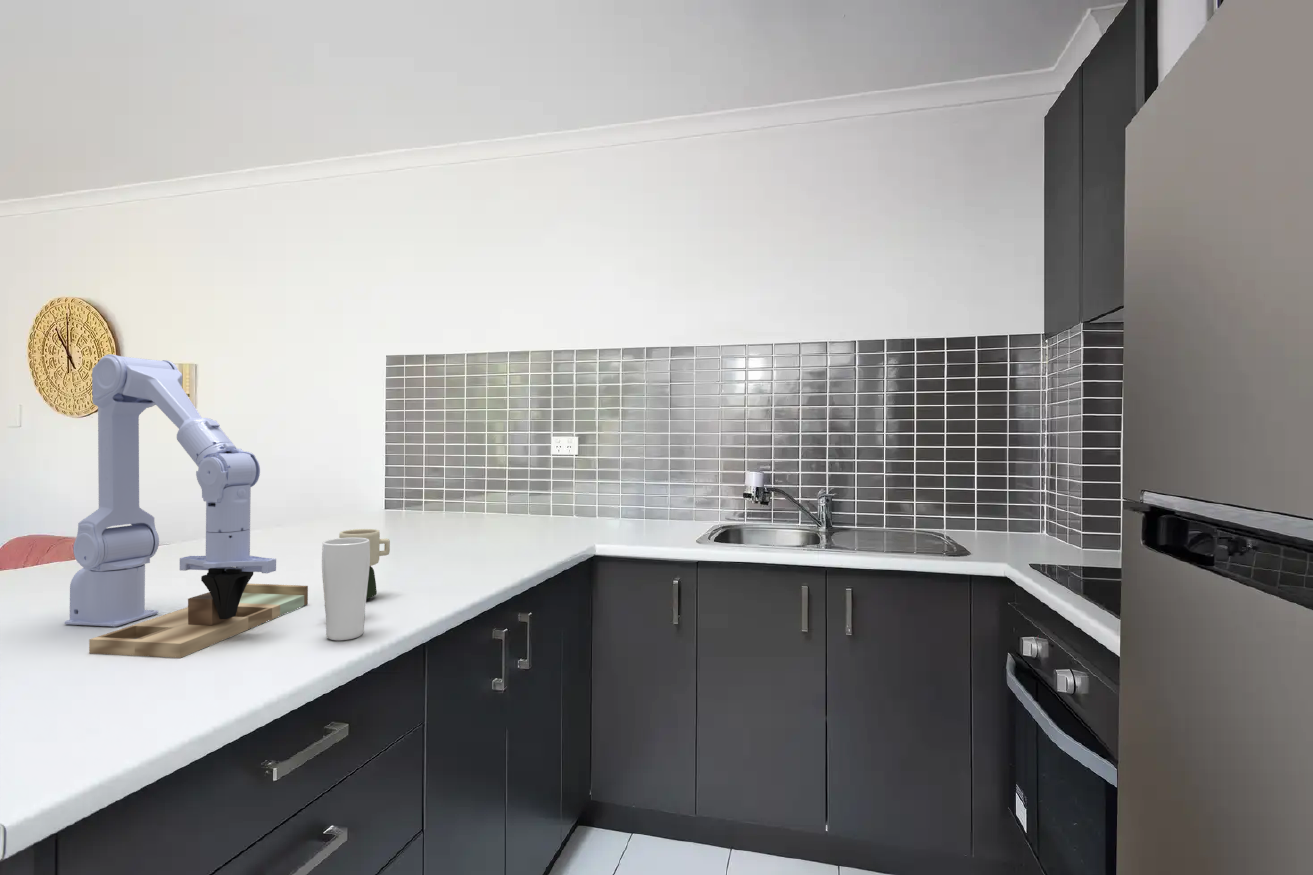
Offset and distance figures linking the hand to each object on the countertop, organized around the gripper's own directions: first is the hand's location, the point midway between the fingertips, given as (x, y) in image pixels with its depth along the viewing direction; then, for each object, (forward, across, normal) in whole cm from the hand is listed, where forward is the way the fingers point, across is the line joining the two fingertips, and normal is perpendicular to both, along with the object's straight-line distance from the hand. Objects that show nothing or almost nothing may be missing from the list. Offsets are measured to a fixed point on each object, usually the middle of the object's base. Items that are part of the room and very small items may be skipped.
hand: (227, 617), depth 98 cm
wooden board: (+3, -6, +4) cm, 8 cm away
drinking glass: (+3, +18, +2) cm, 18 cm away
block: (+1, -3, +1) cm, 4 cm away
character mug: (+3, +8, +24) cm, 25 cm away
